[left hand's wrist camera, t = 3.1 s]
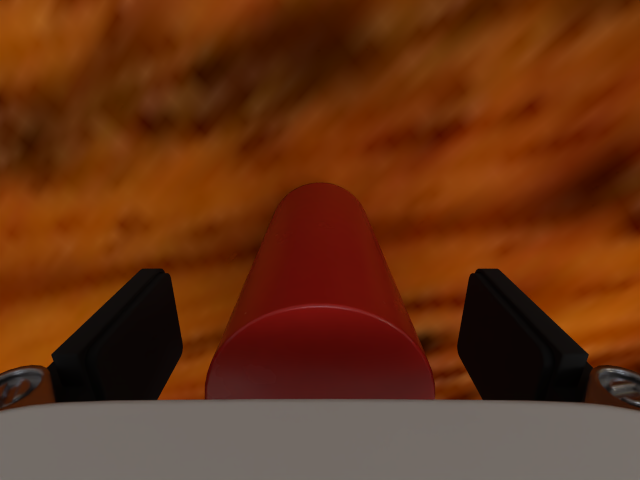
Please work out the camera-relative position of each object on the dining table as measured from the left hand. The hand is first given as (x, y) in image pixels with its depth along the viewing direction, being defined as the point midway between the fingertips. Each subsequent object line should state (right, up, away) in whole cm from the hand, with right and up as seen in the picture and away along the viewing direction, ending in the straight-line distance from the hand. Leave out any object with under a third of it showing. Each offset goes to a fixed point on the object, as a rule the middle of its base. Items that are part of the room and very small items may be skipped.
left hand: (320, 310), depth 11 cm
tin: (0, +3, +8) cm, 9 cm away
